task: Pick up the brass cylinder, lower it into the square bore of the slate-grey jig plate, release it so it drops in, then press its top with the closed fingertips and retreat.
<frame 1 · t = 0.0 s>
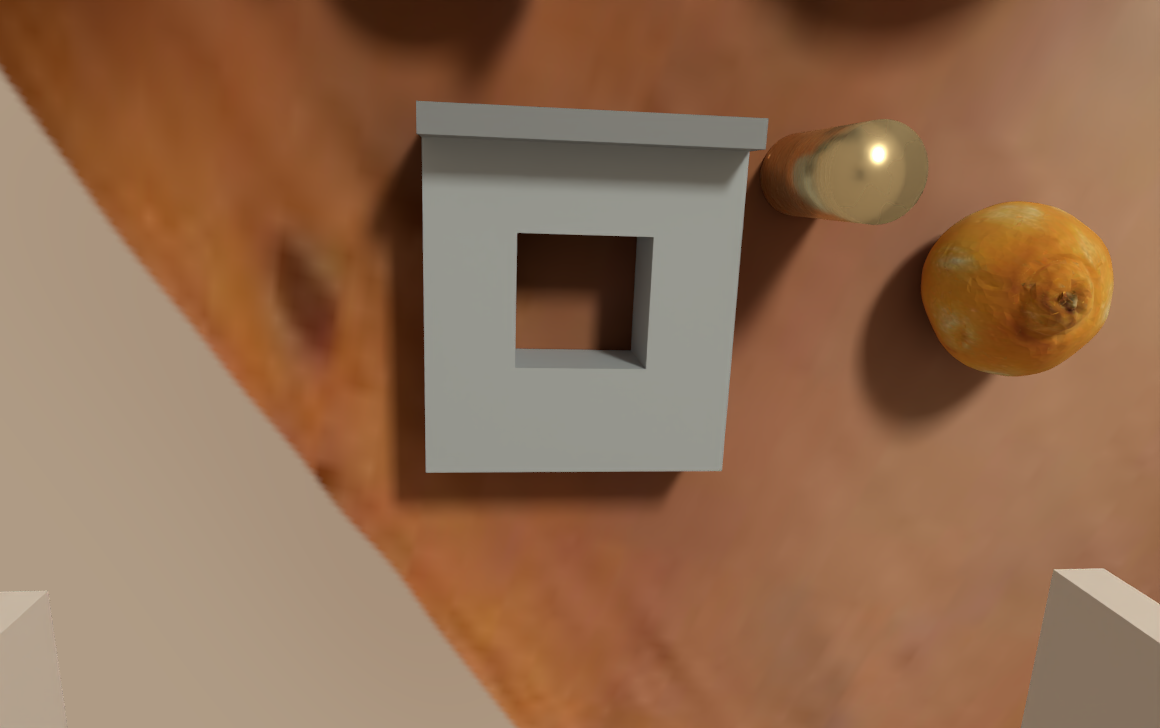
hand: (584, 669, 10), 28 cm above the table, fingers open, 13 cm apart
brass cylinder: (799, 175, 37), on the table
jig: (574, 290, 37), on the table
fruit: (968, 279, 39), on the table
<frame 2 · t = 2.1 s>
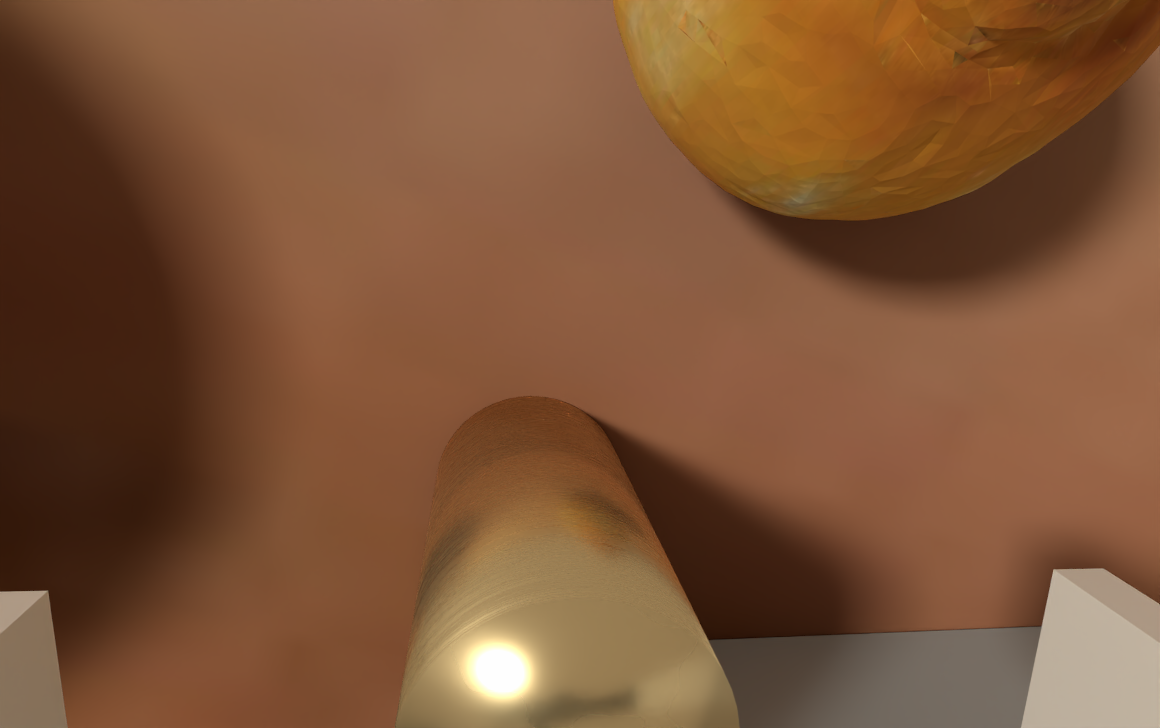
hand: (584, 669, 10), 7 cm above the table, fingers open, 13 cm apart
brass cylinder: (529, 484, 16), on the table
fruit: (791, 7, 15), on the table
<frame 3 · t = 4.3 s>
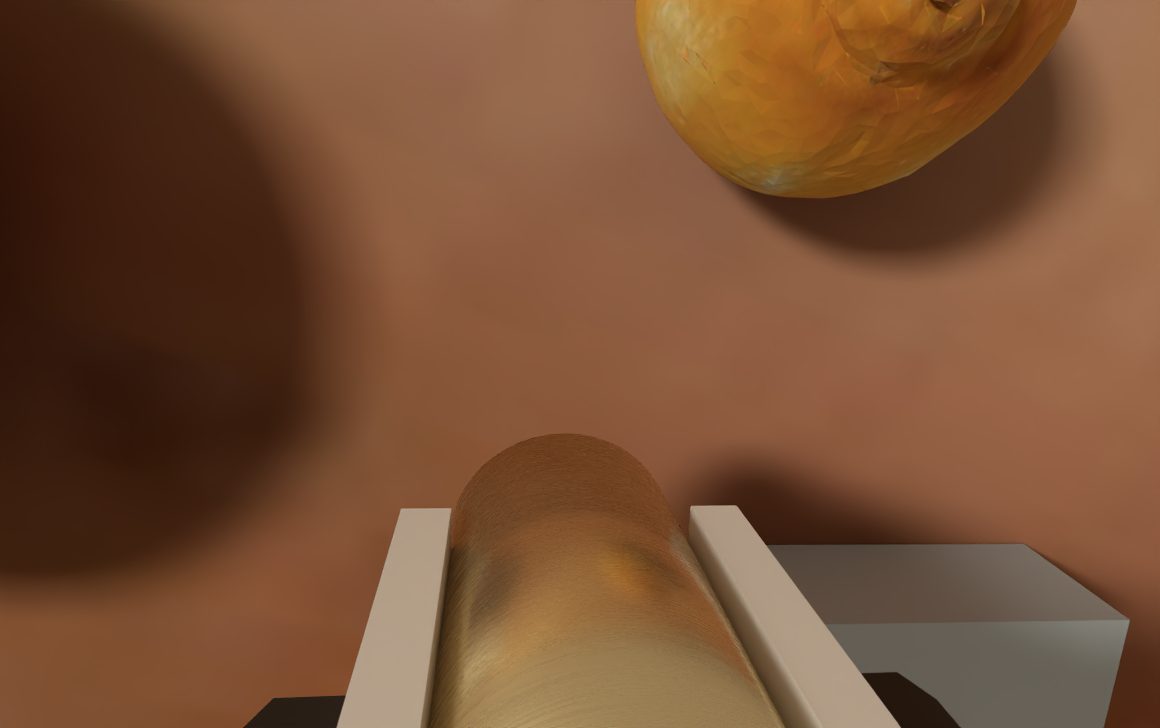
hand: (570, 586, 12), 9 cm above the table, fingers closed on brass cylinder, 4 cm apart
brass cylinder: (561, 537, 13), point 7 cm above the table, touching gripper
fruit: (780, 29, 19), on the table
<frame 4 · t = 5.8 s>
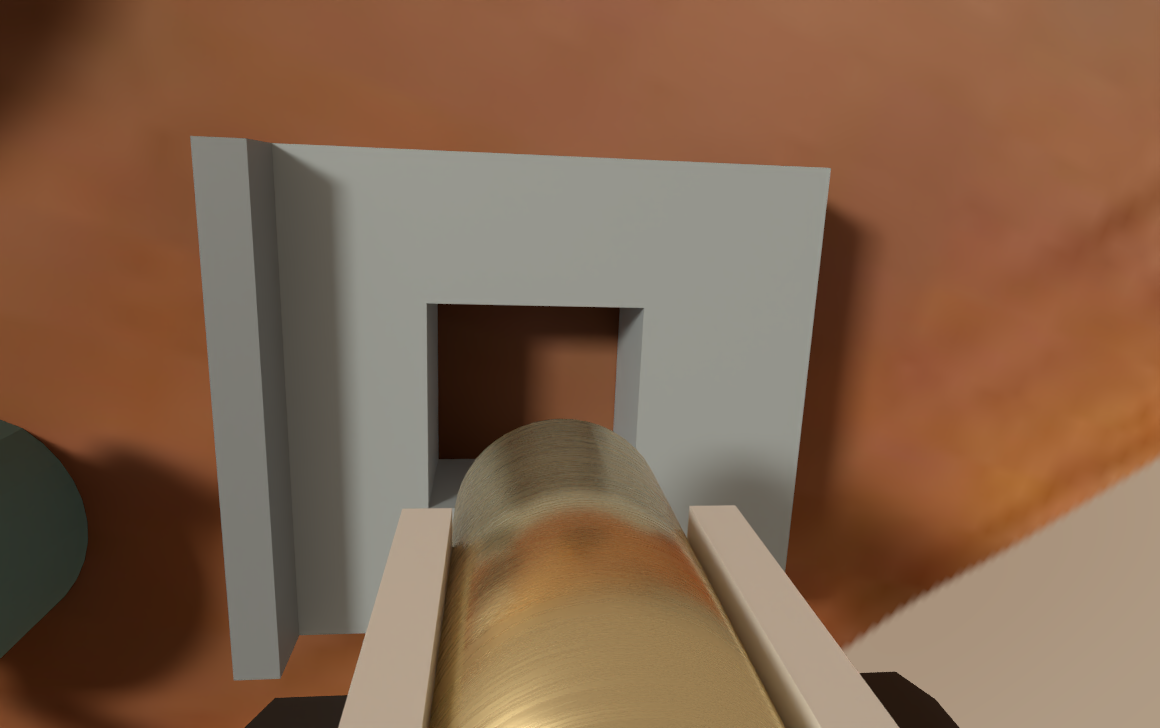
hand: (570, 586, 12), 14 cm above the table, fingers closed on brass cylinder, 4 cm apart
brass cylinder: (559, 518, 14), point 11 cm above the table, touching gripper
jig: (528, 374, 25), on the table
when the fingers open (5 cm above the table, at t = 7.5 s): brass cylinder drops 3 cm, resting in jig.
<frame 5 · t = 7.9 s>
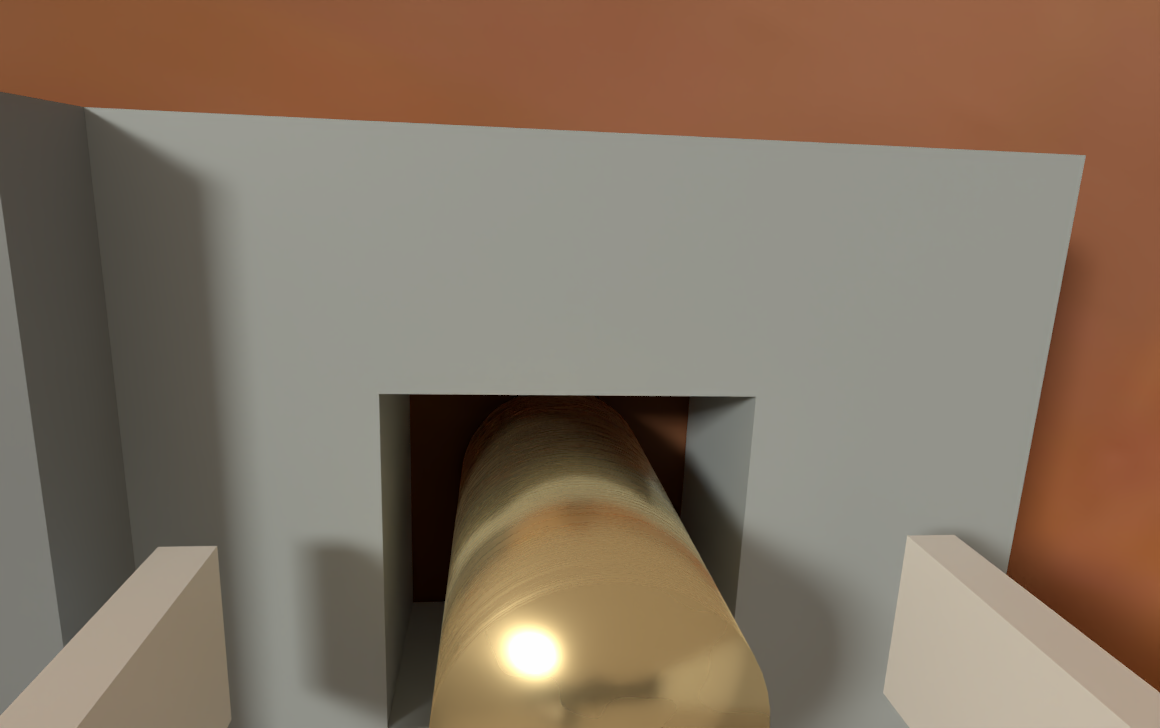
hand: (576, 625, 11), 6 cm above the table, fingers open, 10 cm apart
brass cylinder: (553, 476, 16), resting in jig
jig: (550, 476, 16), on the table
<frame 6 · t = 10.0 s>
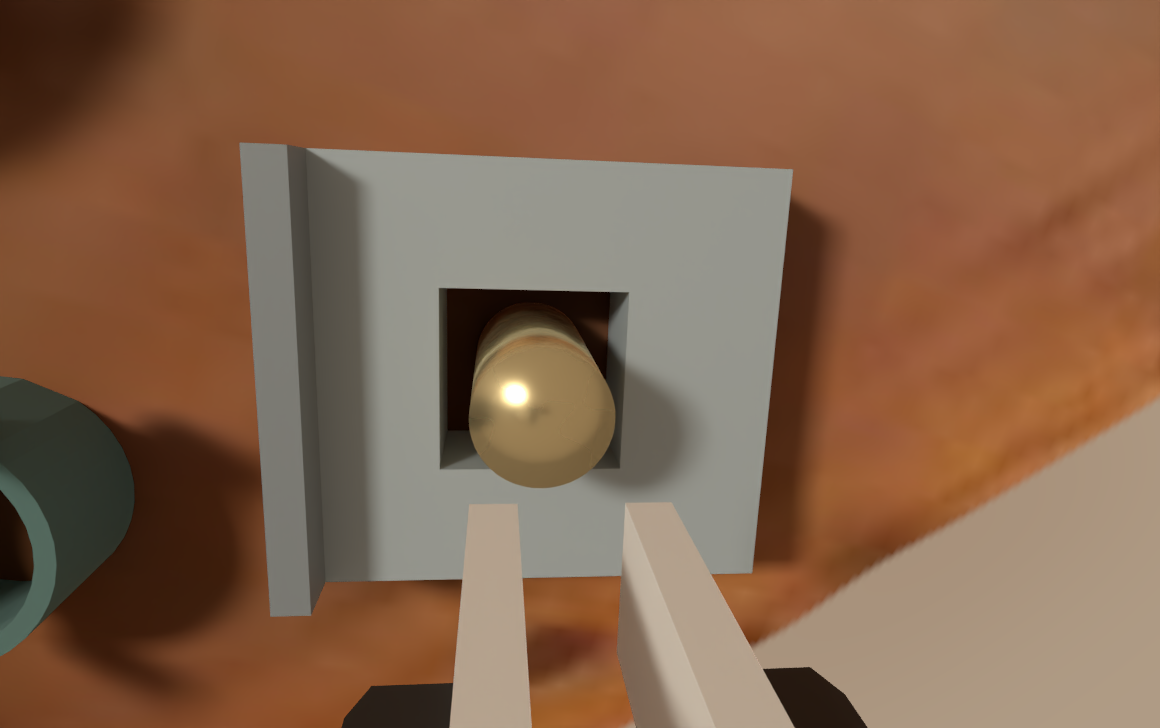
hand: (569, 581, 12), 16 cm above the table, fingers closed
brass cylinder: (530, 354, 28), resting in jig
bracket: (5, 479, 27), on the table
jig: (528, 354, 28), on the table
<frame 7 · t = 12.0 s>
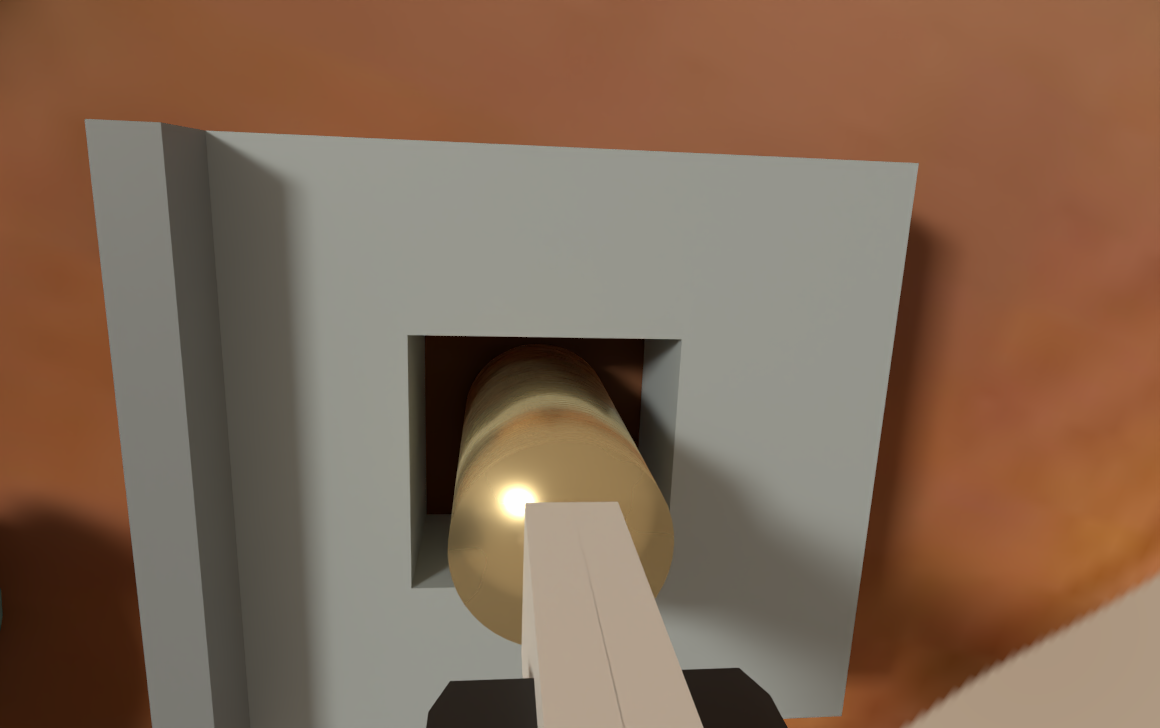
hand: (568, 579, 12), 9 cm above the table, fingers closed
brass cylinder: (537, 413, 21), resting in jig
jig: (534, 413, 21), on the table
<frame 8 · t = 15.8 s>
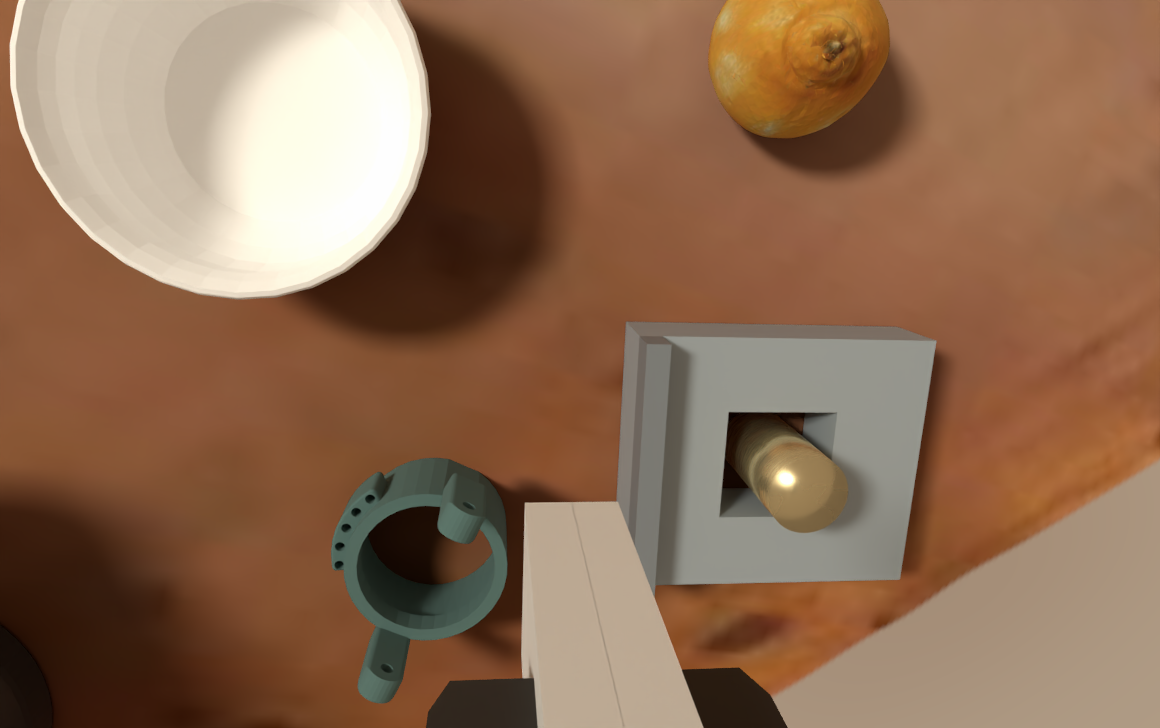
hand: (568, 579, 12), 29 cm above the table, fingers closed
brass cylinder: (754, 440, 44), resting in jig
bowl: (282, 118, 37), on the table
bracket: (428, 520, 43), on the table
jig: (753, 440, 44), on the table
fruit: (769, 62, 39), on the table
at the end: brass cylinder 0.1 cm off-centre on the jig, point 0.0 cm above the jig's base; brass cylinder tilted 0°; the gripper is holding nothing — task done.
